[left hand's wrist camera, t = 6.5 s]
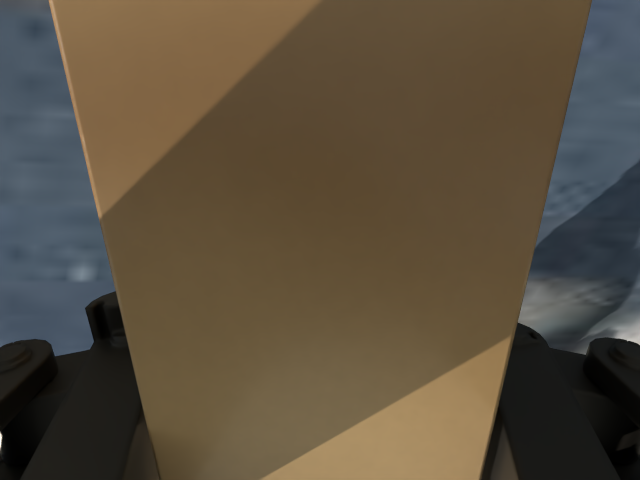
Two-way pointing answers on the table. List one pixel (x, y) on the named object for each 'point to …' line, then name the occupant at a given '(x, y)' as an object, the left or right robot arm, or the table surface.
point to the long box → (320, 219)
